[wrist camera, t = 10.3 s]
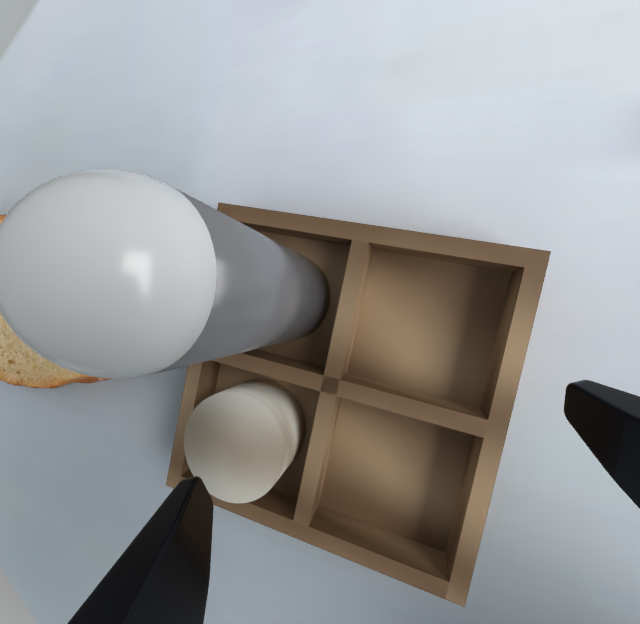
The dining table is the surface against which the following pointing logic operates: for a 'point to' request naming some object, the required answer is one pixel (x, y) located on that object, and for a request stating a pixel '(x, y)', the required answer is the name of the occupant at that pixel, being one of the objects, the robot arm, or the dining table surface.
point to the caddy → (372, 400)
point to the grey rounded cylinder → (146, 278)
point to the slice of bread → (31, 363)
